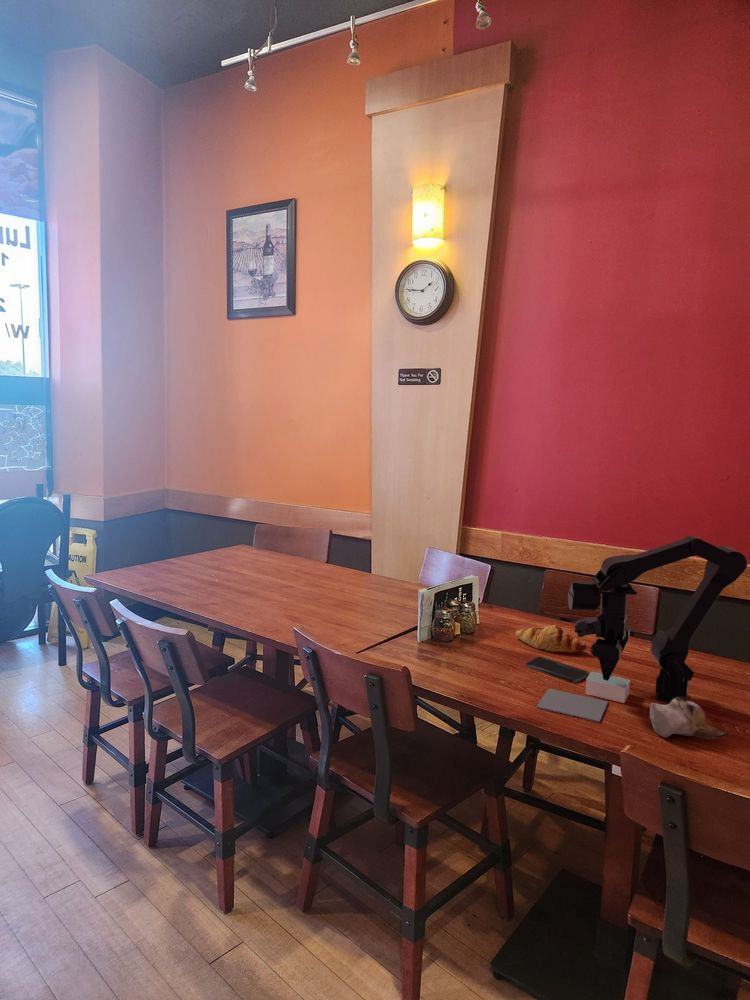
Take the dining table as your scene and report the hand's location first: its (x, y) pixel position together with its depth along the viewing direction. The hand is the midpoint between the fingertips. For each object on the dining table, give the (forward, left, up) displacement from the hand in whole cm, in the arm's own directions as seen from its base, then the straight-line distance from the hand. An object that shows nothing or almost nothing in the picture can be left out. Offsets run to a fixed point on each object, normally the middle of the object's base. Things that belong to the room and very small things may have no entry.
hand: (609, 673), depth 158 cm
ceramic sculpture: (-17, +12, -6) cm, 22 cm away
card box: (0, 0, -6) cm, 6 cm away
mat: (+6, +11, -5) cm, 13 cm away
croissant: (+20, -25, -6) cm, 33 cm away
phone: (+14, -8, -6) cm, 17 cm away
